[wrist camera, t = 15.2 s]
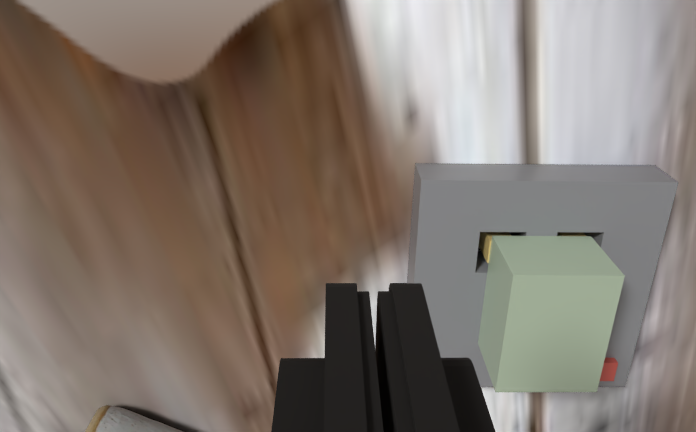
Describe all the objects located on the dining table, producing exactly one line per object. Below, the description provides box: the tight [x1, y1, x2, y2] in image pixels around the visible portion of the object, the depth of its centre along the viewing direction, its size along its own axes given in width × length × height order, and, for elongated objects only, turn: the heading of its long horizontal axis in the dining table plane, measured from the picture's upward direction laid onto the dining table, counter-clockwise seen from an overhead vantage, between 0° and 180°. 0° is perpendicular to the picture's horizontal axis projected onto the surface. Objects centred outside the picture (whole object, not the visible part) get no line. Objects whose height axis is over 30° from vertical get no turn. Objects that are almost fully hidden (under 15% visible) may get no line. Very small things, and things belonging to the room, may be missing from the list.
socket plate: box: [407, 163, 678, 387], centre depth 42 cm, size 16×16×4 cm
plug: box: [478, 232, 625, 392], centre depth 40 cm, size 8×7×8 cm
